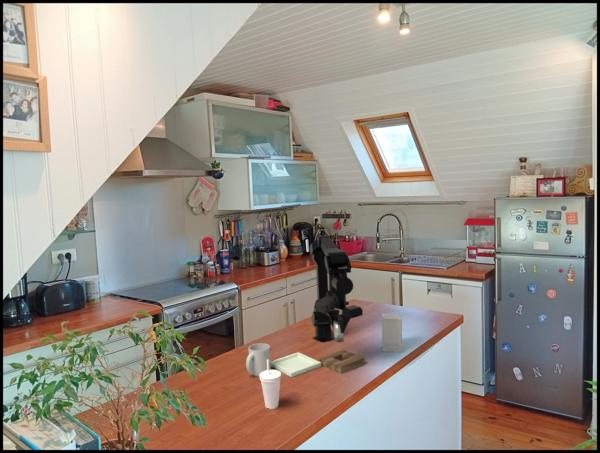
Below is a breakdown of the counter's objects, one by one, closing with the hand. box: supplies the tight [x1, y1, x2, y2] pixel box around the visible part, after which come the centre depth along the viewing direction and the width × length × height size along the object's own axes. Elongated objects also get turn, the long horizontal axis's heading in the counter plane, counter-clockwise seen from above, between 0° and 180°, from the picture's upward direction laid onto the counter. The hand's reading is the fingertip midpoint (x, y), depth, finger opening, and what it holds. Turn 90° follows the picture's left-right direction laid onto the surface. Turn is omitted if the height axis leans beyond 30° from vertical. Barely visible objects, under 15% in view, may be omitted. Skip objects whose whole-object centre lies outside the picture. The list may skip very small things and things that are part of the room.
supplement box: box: [381, 313, 403, 353], centre depth 173 cm, size 7×7×13 cm
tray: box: [270, 351, 322, 378], centre depth 161 cm, size 13×13×2 cm
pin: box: [333, 318, 345, 344], centre depth 160 cm, size 3×3×8 cm
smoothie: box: [258, 359, 282, 410], centre depth 133 cm, size 6×6×14 cm
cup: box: [245, 342, 272, 377], centre depth 156 cm, size 7×10×9 cm
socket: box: [319, 348, 365, 375], centre depth 161 cm, size 11×11×2 cm
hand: (338, 331), depth 160 cm, fingers closed on pin, 3 cm apart
